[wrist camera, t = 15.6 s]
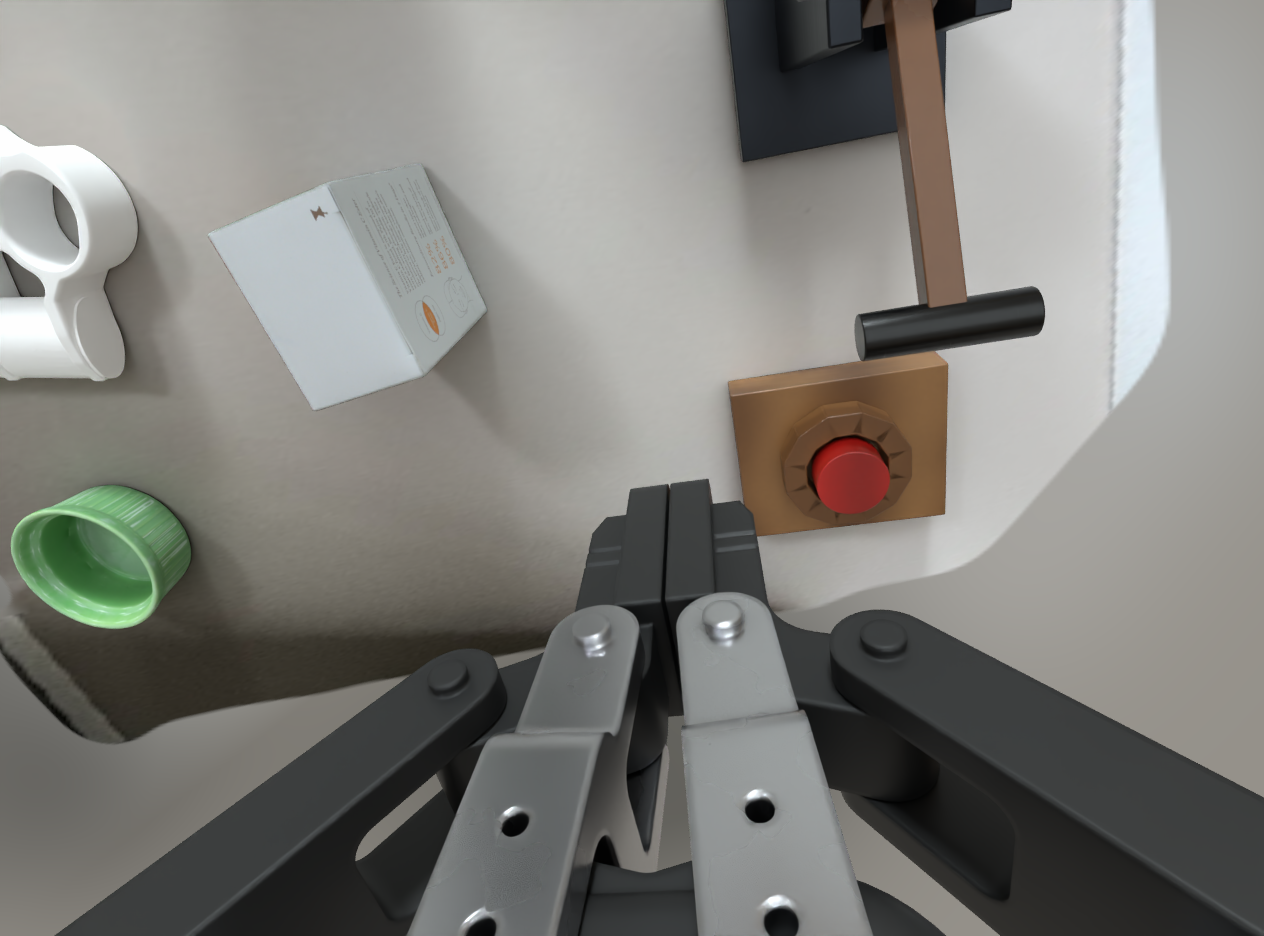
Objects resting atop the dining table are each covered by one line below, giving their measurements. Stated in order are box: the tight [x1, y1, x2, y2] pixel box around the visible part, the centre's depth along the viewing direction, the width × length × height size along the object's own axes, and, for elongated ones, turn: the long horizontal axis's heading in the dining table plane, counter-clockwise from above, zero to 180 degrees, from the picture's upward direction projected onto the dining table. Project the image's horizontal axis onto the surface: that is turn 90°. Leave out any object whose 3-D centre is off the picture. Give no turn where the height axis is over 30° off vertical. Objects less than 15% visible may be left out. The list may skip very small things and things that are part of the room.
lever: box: [855, 0, 1045, 362], centre depth 20 cm, size 13×5×2 cm, turn 10°
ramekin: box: [11, 485, 191, 629], centre depth 44 cm, size 9×9×4 cm
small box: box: [208, 163, 487, 411], centre depth 31 cm, size 8×6×10 cm
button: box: [812, 438, 890, 514], centre depth 35 cm, size 4×4×2 cm
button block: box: [728, 351, 948, 536], centre depth 37 cm, size 11×9×4 cm
